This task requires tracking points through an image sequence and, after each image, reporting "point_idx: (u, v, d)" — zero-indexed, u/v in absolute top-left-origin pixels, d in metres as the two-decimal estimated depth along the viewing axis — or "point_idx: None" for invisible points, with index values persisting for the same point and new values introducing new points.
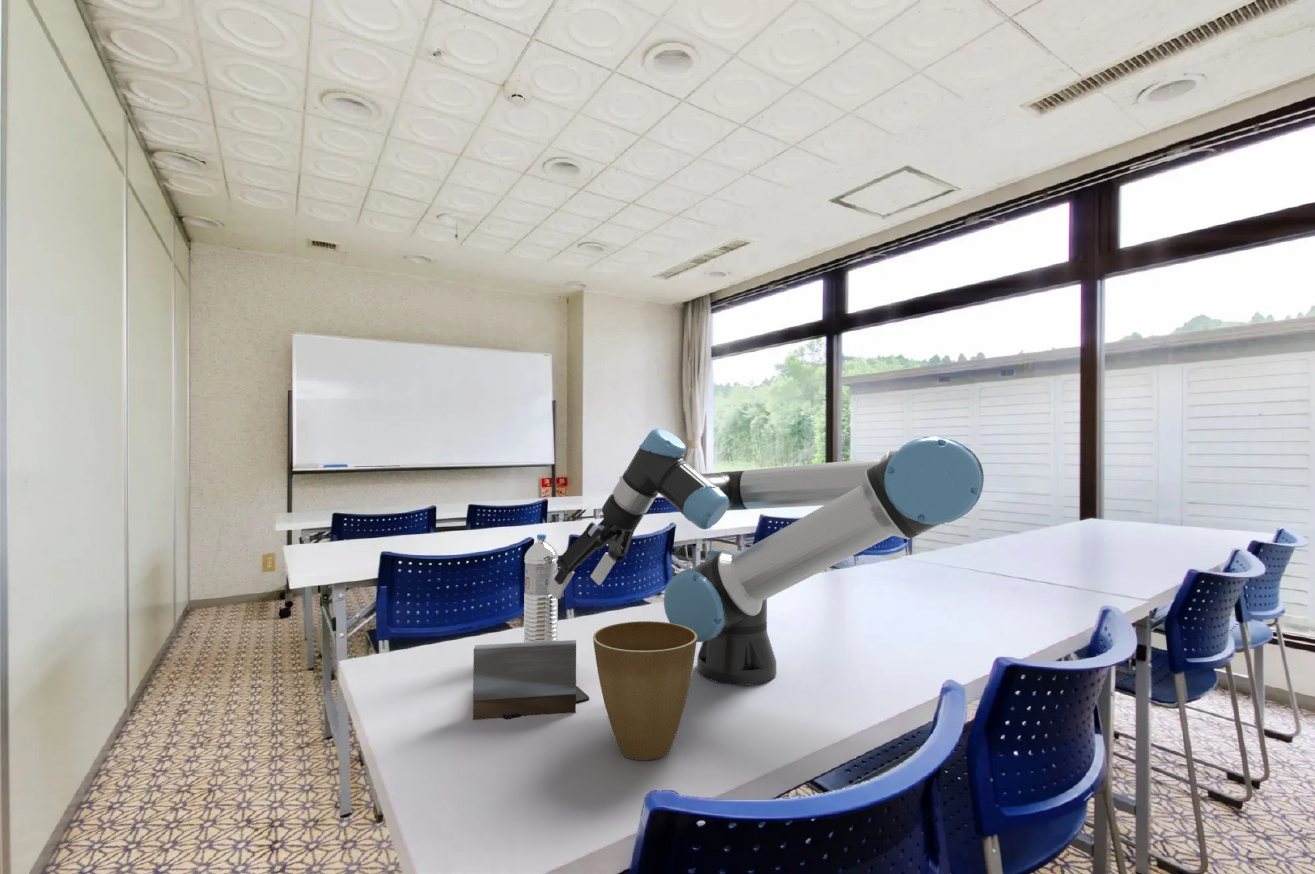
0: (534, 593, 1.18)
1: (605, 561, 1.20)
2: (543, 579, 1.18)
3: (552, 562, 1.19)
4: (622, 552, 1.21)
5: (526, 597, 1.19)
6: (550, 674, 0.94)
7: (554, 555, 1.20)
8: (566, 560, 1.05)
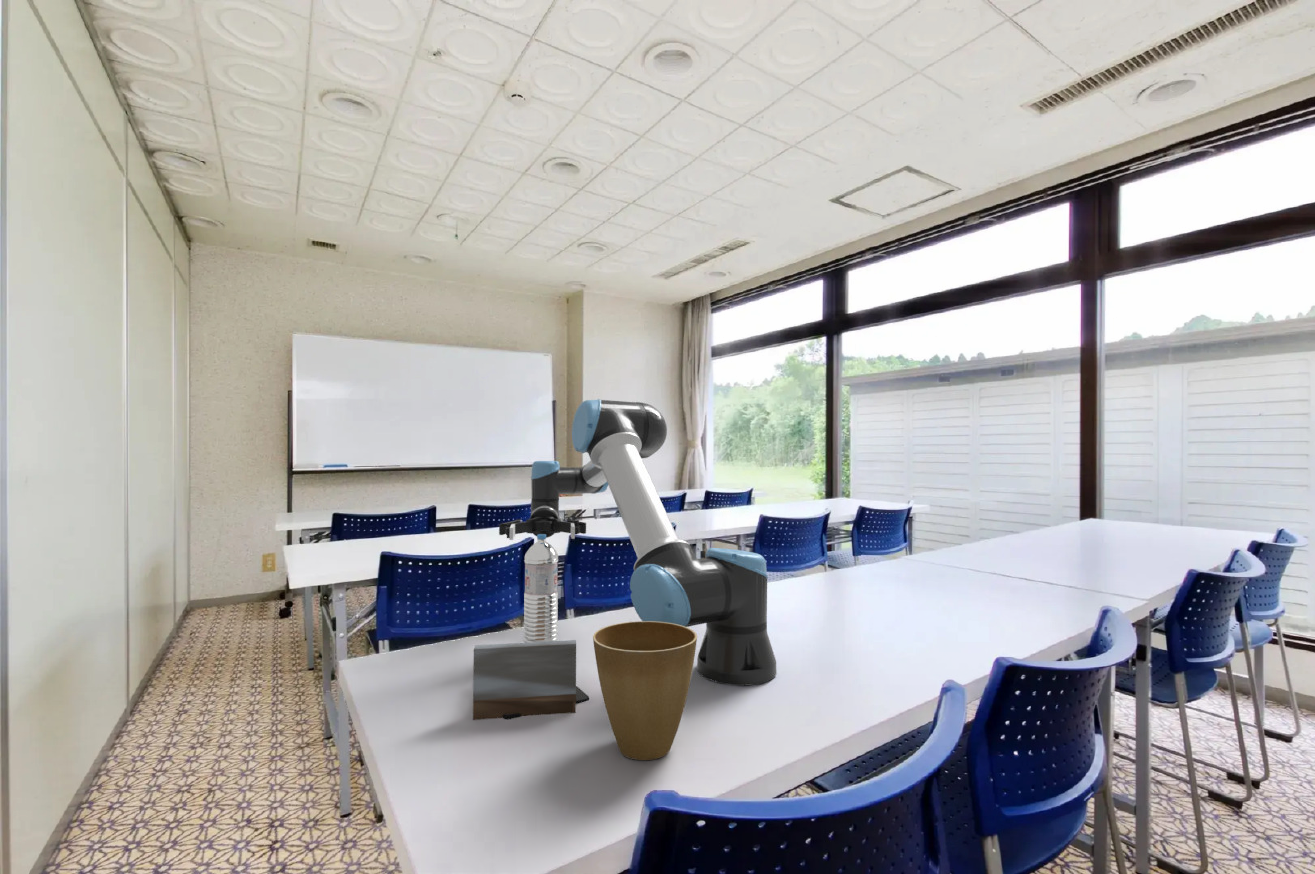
0: (534, 593, 1.18)
1: None
2: (543, 579, 1.18)
3: (552, 562, 1.19)
4: (580, 524, 1.40)
5: (526, 597, 1.19)
6: (550, 674, 0.94)
7: (554, 555, 1.20)
8: None
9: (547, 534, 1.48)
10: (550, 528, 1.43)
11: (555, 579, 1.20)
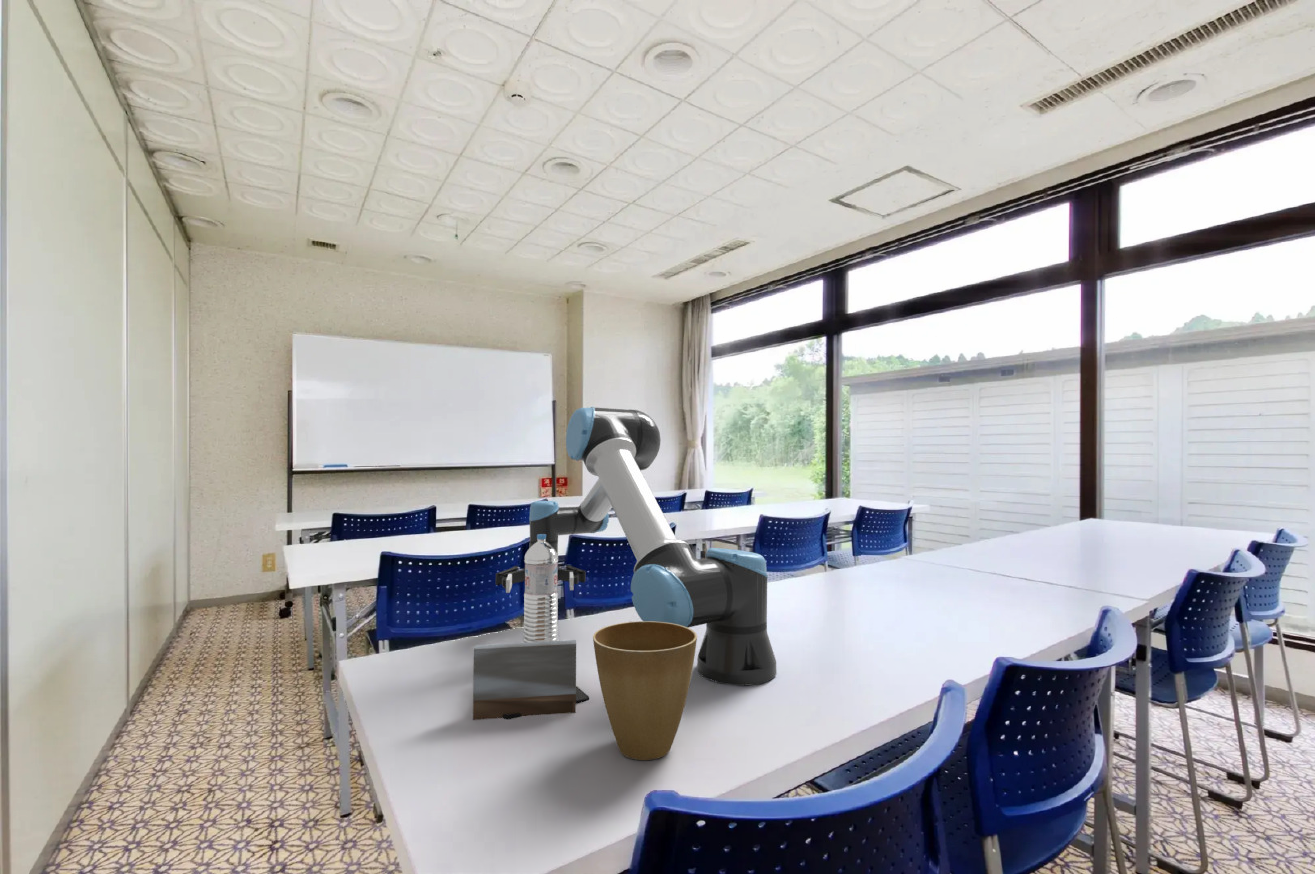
0: (534, 593, 1.18)
1: None
2: (543, 579, 1.18)
3: (552, 562, 1.19)
4: (579, 572, 1.36)
5: (526, 597, 1.19)
6: (550, 674, 0.94)
7: (554, 555, 1.20)
8: None
9: None
10: None
11: (555, 579, 1.20)
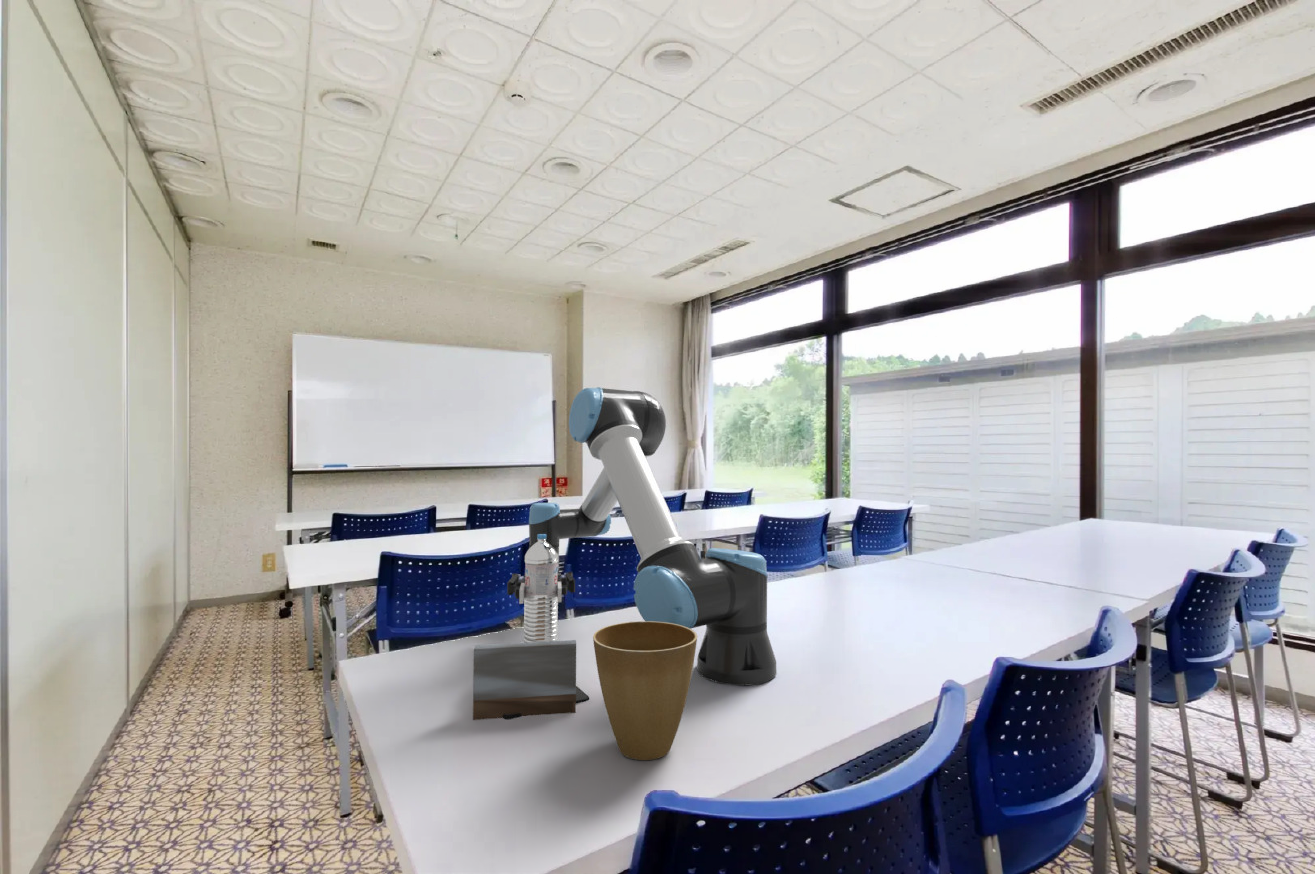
0: (534, 593, 1.18)
1: None
2: (544, 579, 1.18)
3: (552, 561, 1.19)
4: (568, 581, 1.25)
5: (526, 597, 1.19)
6: (550, 674, 0.94)
7: (554, 555, 1.20)
8: None
9: None
10: None
11: (555, 579, 1.20)
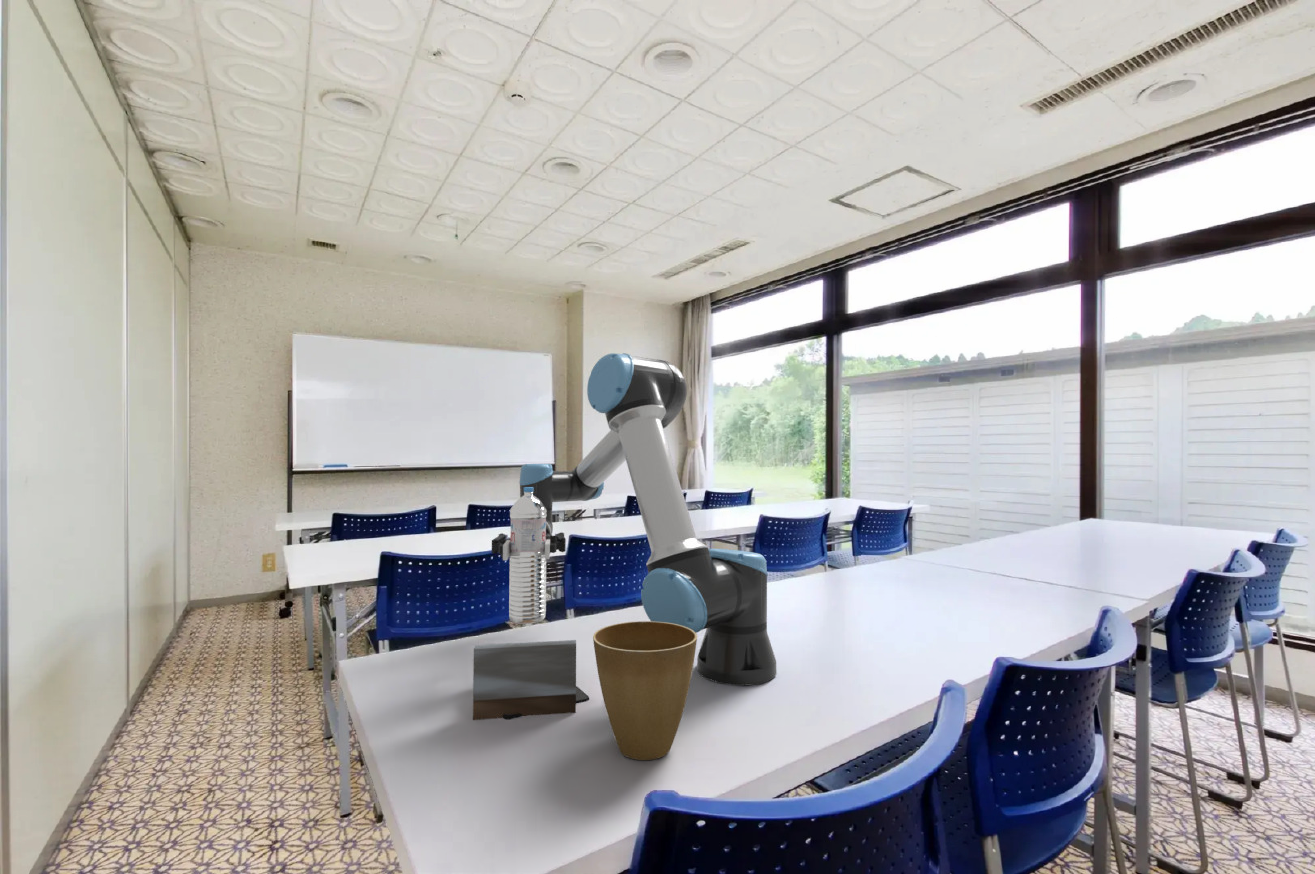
0: (520, 549, 1.08)
1: None
2: (530, 535, 1.08)
3: (539, 516, 1.09)
4: (558, 540, 1.15)
5: (511, 554, 1.09)
6: (550, 674, 0.94)
7: (542, 509, 1.10)
8: None
9: None
10: None
11: (543, 535, 1.10)
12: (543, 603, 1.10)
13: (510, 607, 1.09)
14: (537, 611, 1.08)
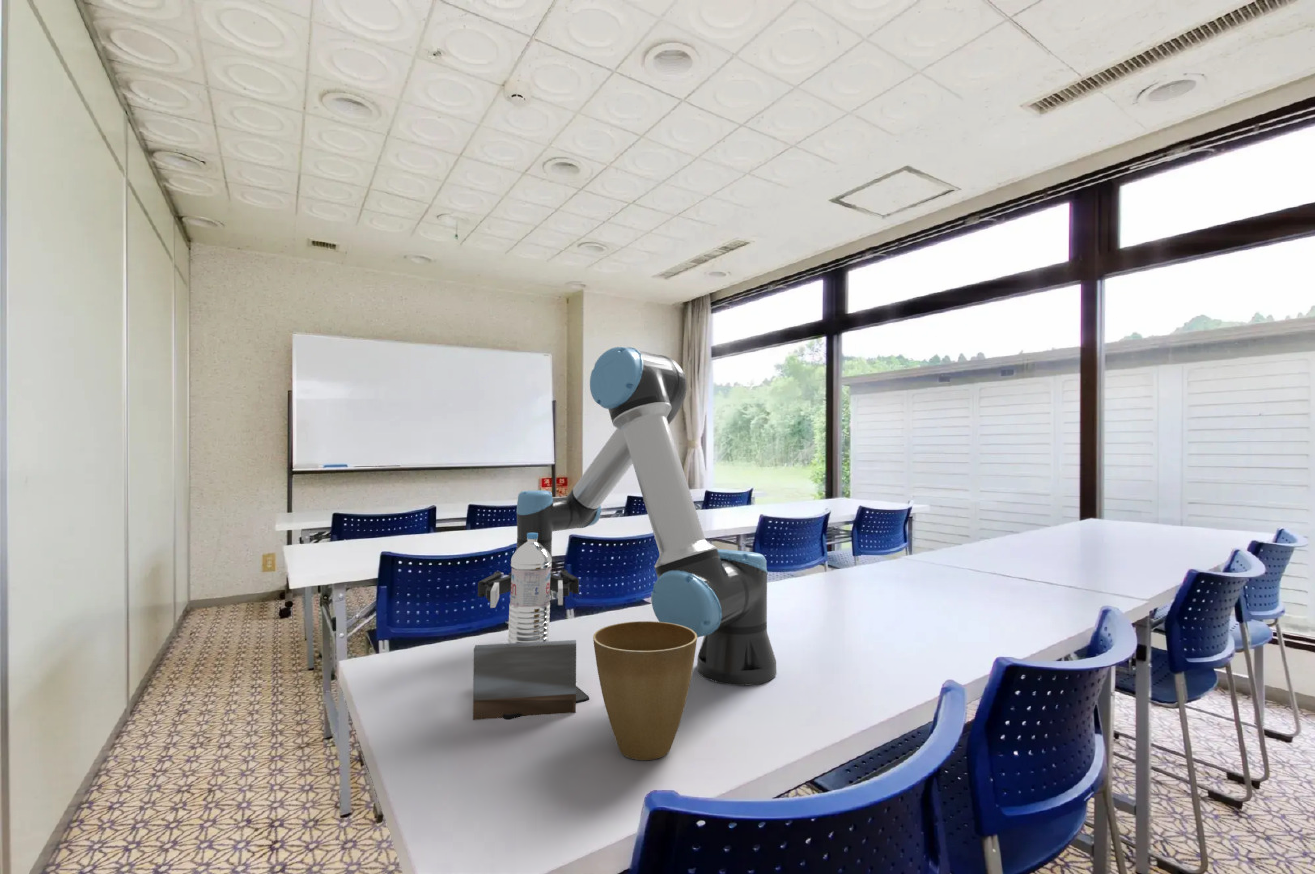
0: (521, 604, 0.97)
1: None
2: (533, 588, 0.97)
3: (544, 566, 0.98)
4: (570, 580, 1.05)
5: (511, 608, 0.98)
6: (550, 674, 0.94)
7: (547, 559, 0.99)
8: None
9: None
10: None
11: (547, 587, 0.99)
12: None
13: None
14: None
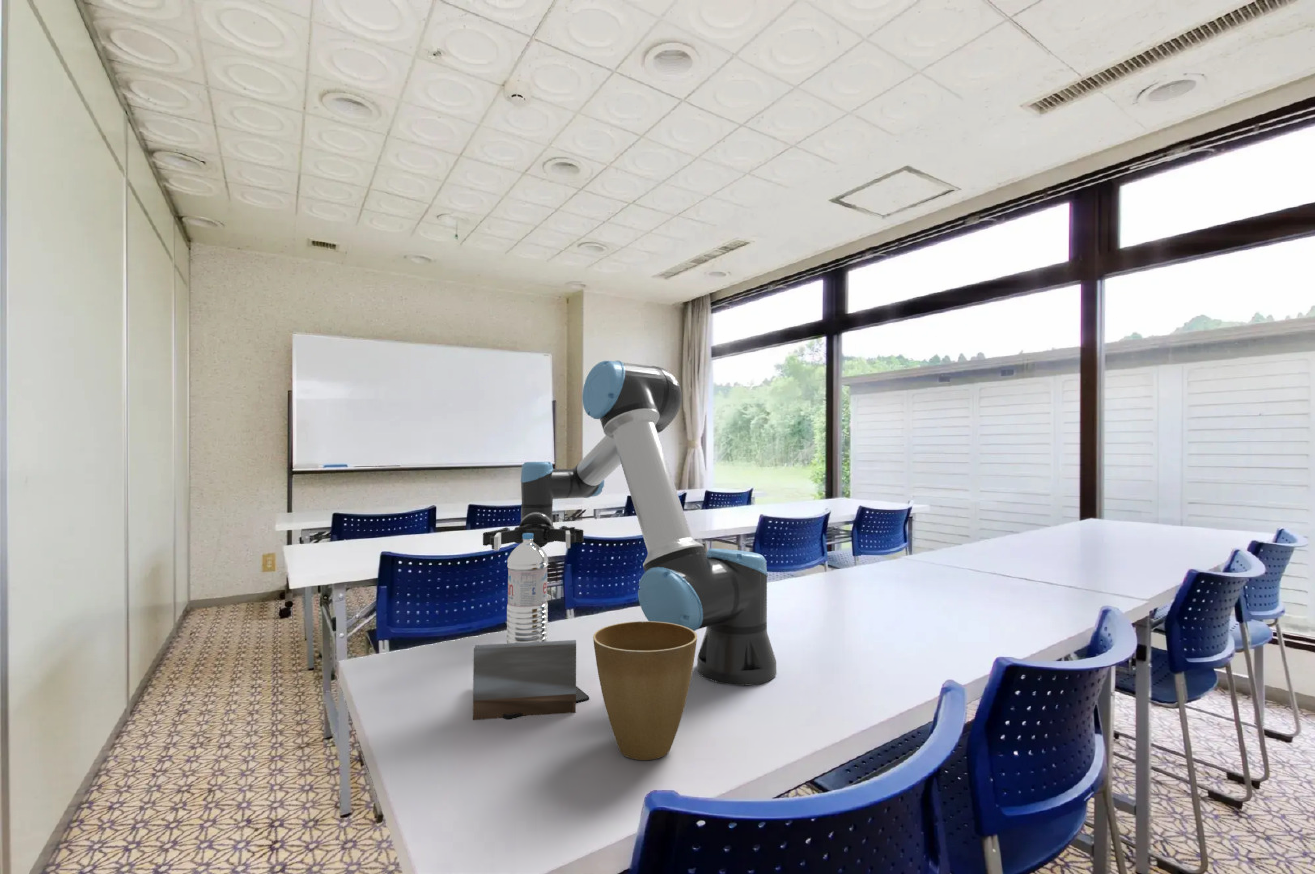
0: (518, 604, 0.97)
1: None
2: (530, 588, 0.97)
3: (540, 566, 0.98)
4: (576, 531, 1.22)
5: (509, 609, 0.98)
6: (550, 674, 0.94)
7: (543, 559, 0.99)
8: None
9: (539, 544, 1.29)
10: (542, 537, 1.25)
11: (544, 587, 0.99)
12: None
13: None
14: None
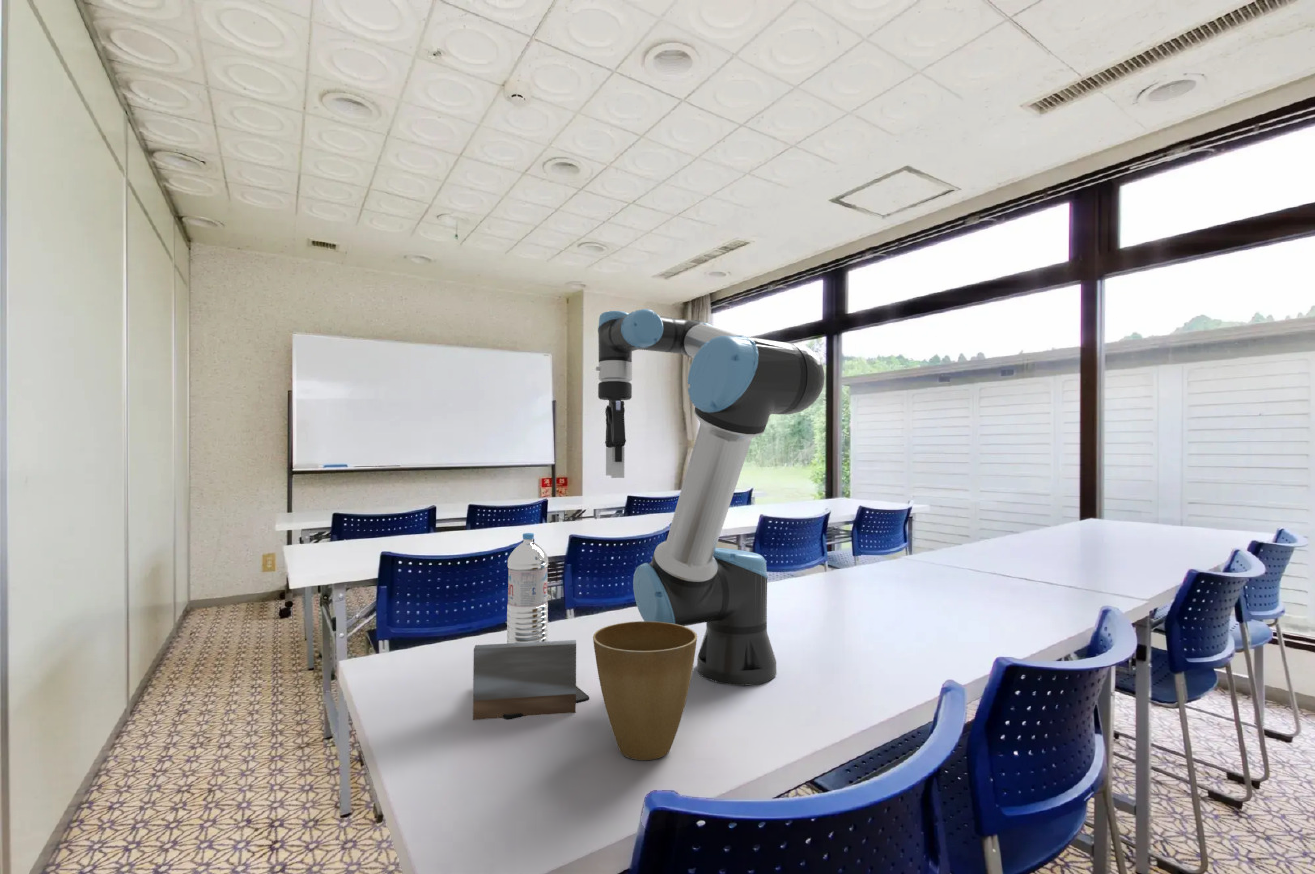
0: (519, 604, 0.97)
1: (610, 453, 1.37)
2: (530, 588, 0.97)
3: (540, 566, 0.98)
4: None
5: (509, 609, 0.98)
6: (550, 674, 0.94)
7: (543, 559, 0.99)
8: (620, 434, 1.21)
9: (602, 399, 1.32)
10: None
11: (544, 587, 0.99)
12: None
13: None
14: None
